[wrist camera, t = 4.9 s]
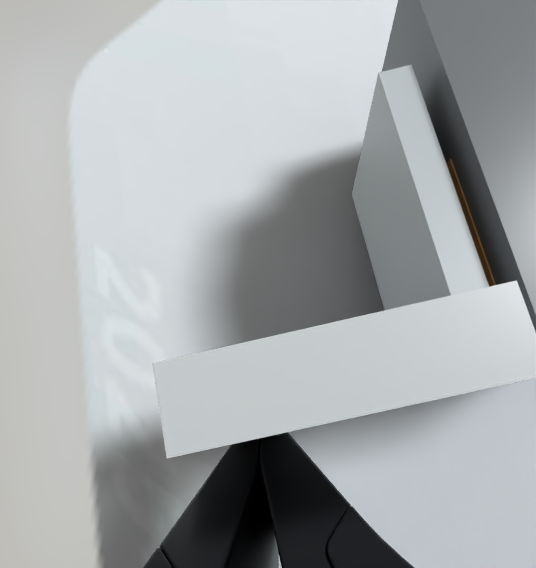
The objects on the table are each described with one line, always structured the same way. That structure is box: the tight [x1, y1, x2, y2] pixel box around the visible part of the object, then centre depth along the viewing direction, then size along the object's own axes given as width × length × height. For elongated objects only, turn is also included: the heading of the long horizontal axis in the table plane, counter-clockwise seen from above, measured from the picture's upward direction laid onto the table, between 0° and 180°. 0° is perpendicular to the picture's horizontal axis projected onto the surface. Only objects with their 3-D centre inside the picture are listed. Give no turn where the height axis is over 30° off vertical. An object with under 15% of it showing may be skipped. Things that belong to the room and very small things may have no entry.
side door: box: [153, 65, 536, 458], centre depth 11 cm, size 6×6×7 cm
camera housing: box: [382, 0, 536, 332], centre depth 12 cm, size 9×5×8 cm, turn 12°
